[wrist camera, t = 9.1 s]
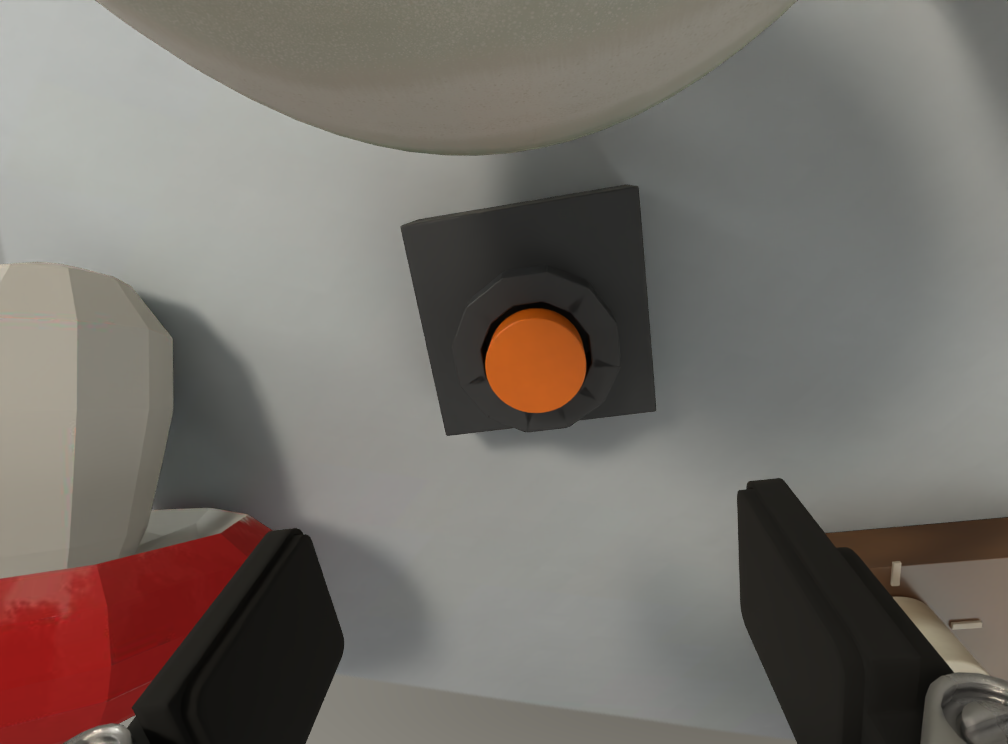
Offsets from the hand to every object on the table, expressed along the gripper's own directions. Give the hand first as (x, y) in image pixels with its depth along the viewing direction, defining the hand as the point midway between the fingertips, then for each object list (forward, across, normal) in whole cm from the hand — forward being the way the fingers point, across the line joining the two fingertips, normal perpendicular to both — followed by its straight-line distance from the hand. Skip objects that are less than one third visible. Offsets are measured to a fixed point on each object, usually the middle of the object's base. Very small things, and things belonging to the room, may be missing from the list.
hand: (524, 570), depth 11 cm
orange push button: (+14, 0, 0) cm, 14 cm away
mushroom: (+15, +22, -7) cm, 27 cm away
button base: (+18, 0, -1) cm, 18 cm away
